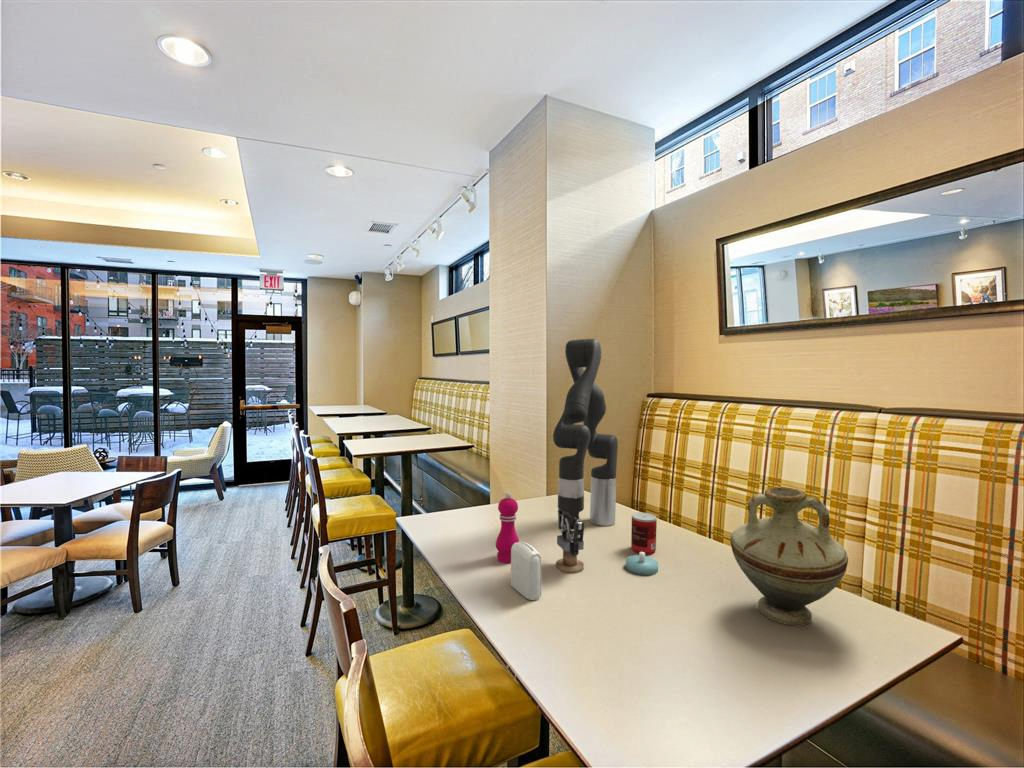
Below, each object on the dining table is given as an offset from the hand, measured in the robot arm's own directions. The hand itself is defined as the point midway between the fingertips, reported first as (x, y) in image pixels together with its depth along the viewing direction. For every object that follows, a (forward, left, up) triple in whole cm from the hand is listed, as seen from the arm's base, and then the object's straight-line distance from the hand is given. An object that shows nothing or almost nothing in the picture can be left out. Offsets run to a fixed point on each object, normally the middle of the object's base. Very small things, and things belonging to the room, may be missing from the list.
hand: (570, 550), depth 134 cm
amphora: (+37, +39, -5) cm, 54 cm away
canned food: (-6, +28, -5) cm, 29 cm away
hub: (+6, +20, -5) cm, 21 cm away
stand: (0, 0, -5) cm, 5 cm away
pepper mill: (-10, -16, -5) cm, 20 cm away
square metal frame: (0, 0, +1) cm, 1 cm away
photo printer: (+11, -17, -5) cm, 21 cm away
